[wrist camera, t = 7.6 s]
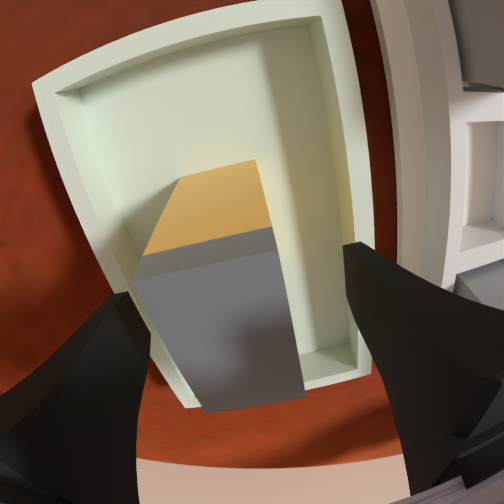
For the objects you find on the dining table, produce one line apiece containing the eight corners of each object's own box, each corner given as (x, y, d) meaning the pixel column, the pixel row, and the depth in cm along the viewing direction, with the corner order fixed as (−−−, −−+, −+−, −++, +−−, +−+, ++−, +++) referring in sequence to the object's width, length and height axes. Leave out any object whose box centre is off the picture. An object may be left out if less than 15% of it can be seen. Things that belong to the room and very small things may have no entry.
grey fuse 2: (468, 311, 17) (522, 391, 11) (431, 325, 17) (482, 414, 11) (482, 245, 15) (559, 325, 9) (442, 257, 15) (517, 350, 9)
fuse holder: (484, 317, 18) (502, 341, 16) (390, 351, 19) (403, 381, 17) (486, -40, 7) (518, -47, 5) (348, -67, 8) (371, -89, 5)
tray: (358, 342, 18) (370, 373, 16) (188, 375, 19) (185, 408, 17) (319, 6, 10) (338, -8, 7) (63, 79, 10) (31, 83, 8)
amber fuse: (278, 266, 15) (306, 397, 9) (214, 280, 15) (205, 412, 9) (255, 158, 12) (277, 249, 6) (180, 177, 12) (131, 280, 6)
